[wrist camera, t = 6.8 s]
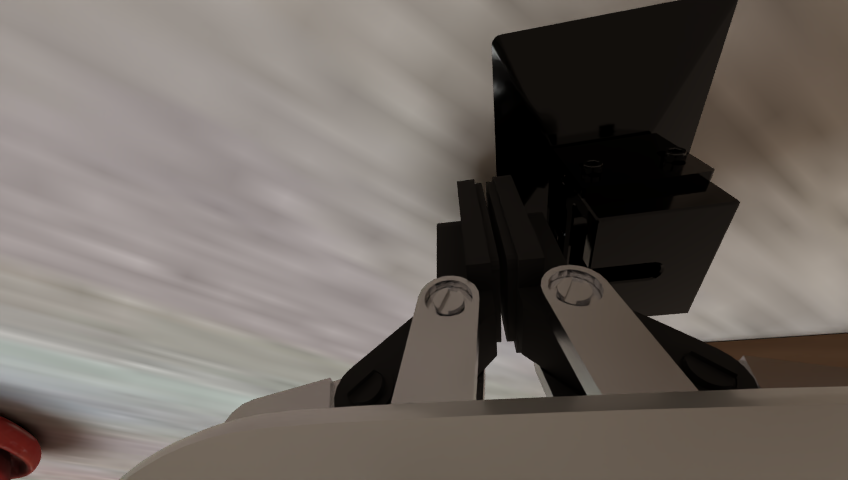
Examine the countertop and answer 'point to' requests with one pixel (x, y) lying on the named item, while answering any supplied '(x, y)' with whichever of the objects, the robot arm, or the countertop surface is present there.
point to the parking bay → (793, 349)
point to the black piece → (618, 143)
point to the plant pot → (17, 451)
